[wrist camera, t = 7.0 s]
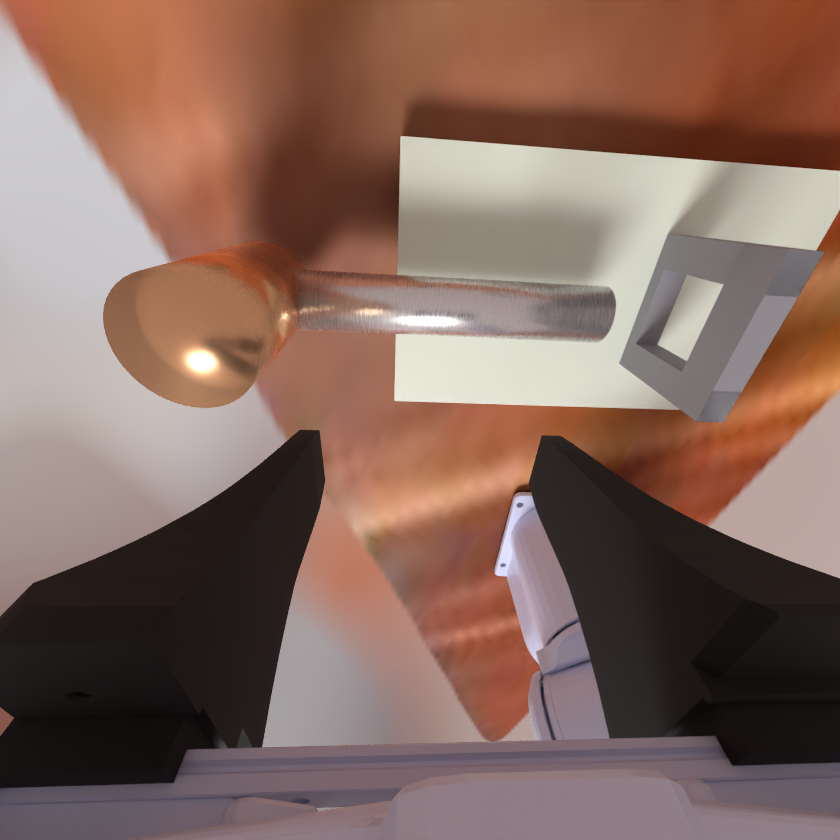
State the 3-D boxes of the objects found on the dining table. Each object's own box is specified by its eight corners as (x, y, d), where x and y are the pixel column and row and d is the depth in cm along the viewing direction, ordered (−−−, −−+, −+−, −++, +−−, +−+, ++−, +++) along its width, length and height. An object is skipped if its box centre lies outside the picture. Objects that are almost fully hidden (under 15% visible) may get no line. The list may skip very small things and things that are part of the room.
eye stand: (704, 399, 23) (823, 477, 17) (394, 389, 22) (391, 469, 15) (826, 175, 17) (1093, 158, 10) (400, 141, 15) (398, 97, 9)
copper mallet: (572, 346, 18) (660, 421, 12) (231, 332, 17) (134, 405, 11) (598, 261, 16) (719, 298, 10) (210, 238, 15) (76, 264, 9)
